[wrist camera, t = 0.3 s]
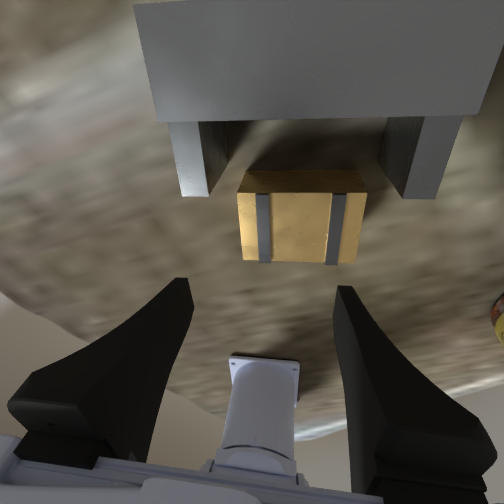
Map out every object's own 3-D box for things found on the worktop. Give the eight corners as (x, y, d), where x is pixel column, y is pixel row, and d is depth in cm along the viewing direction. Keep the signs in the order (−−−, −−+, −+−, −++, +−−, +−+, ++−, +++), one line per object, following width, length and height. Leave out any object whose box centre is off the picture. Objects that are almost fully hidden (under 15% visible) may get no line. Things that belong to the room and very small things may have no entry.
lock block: (346, 231, 22) (355, 266, 19) (250, 230, 23) (242, 262, 20) (356, 168, 20) (368, 195, 16) (246, 169, 21) (235, 195, 17)
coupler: (402, 162, 19) (442, 208, 13) (207, 163, 20) (176, 204, 15) (444, -1, 14) (530, -28, 9) (188, 18, 16) (132, 4, 11)
